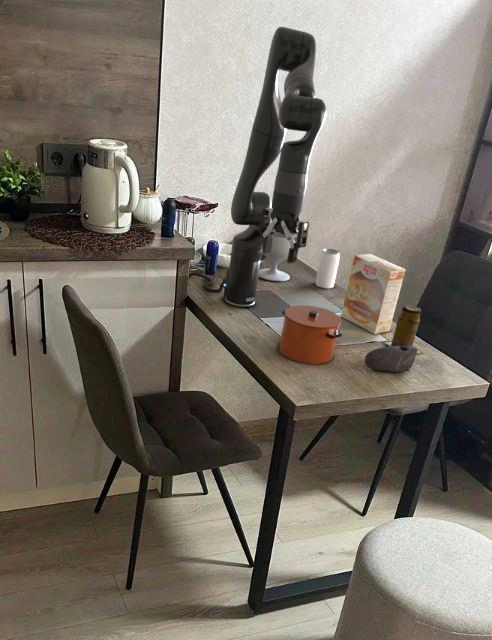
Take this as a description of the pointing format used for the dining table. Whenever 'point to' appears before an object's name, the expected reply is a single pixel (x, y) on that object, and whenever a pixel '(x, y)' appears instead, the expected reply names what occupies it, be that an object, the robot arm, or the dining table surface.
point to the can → (327, 268)
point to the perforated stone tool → (391, 358)
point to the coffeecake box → (372, 293)
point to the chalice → (276, 258)
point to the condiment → (406, 327)
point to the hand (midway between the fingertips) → (278, 257)
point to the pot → (309, 334)
